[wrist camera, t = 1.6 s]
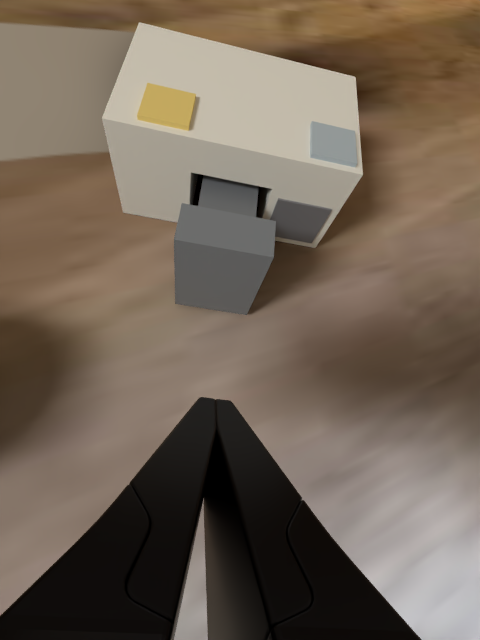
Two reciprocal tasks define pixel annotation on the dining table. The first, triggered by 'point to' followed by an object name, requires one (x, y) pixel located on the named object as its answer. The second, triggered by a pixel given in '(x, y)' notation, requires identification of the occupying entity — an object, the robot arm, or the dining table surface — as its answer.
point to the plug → (222, 248)
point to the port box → (232, 131)
